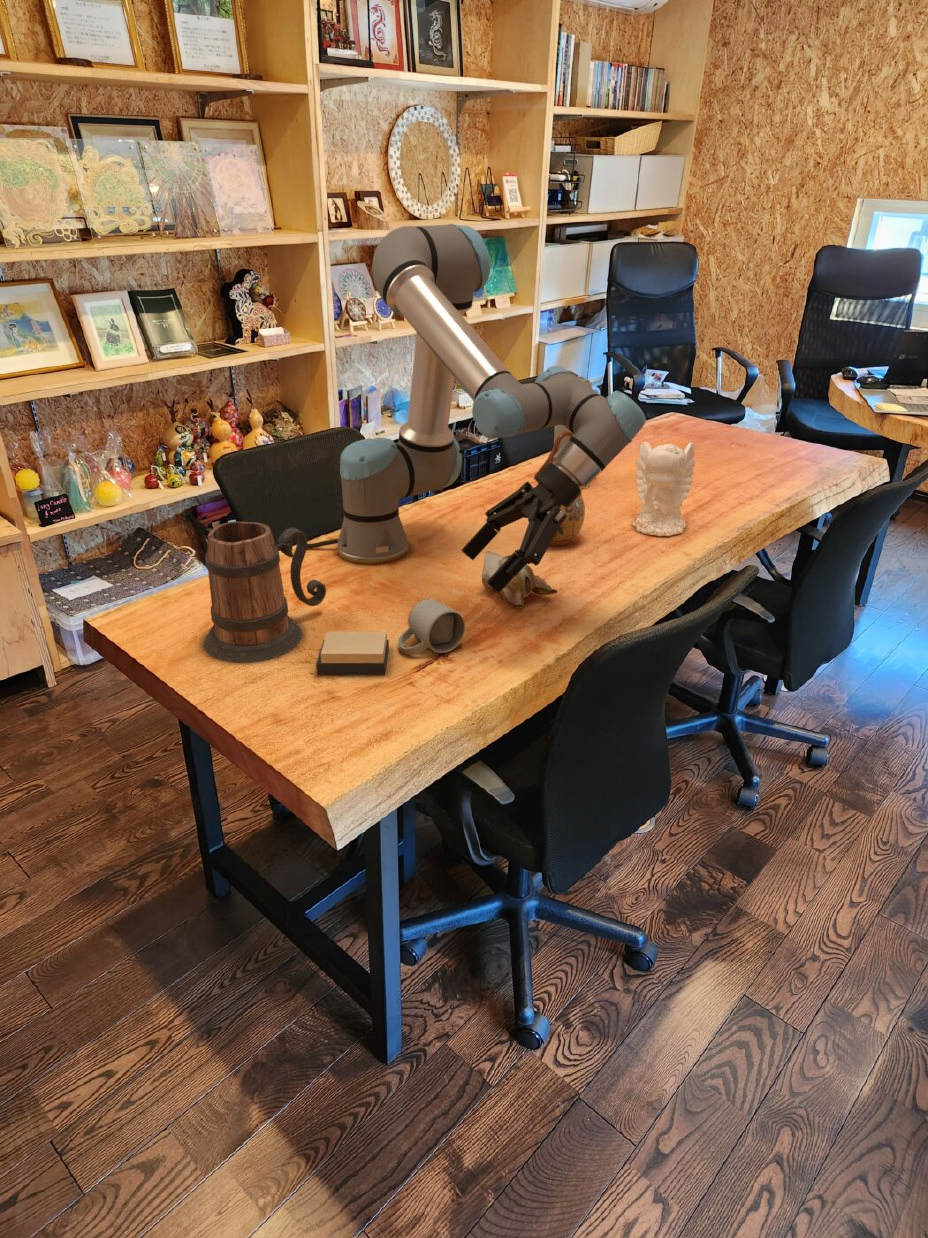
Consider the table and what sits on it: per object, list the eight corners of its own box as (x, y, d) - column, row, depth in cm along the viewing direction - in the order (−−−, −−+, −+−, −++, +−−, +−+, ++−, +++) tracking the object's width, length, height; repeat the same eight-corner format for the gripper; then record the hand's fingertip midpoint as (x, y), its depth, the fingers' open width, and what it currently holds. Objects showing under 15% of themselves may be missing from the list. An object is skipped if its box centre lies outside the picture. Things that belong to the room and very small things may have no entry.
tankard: (234, 673, 134) (217, 560, 125) (186, 636, 145) (167, 529, 135) (351, 627, 148) (344, 522, 139) (300, 596, 159) (290, 497, 150)
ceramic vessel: (548, 558, 175) (555, 442, 164) (518, 546, 181) (522, 433, 170) (598, 538, 185) (608, 428, 173) (568, 527, 191) (575, 420, 179)
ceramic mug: (440, 627, 148) (439, 589, 144) (466, 646, 142) (466, 606, 138) (389, 644, 143) (386, 605, 139) (414, 665, 137) (412, 624, 133)
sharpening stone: (317, 675, 134) (315, 653, 132) (324, 650, 141) (322, 630, 139) (385, 675, 134) (384, 654, 132) (388, 650, 141) (388, 630, 139)
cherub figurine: (623, 533, 188) (631, 446, 179) (631, 514, 199) (639, 432, 189) (681, 540, 184) (693, 452, 175) (687, 521, 195) (698, 437, 186)
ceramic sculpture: (507, 535, 163) (563, 563, 153) (504, 574, 167) (558, 603, 158) (466, 550, 157) (522, 580, 147) (465, 590, 161) (519, 621, 152)
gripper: (614, 515, 127) (520, 615, 130) (551, 467, 148) (471, 555, 151) (585, 485, 123) (488, 589, 126) (524, 441, 144) (443, 531, 147)
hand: (479, 570), depth 138 cm, fingers open, 13 cm apart
